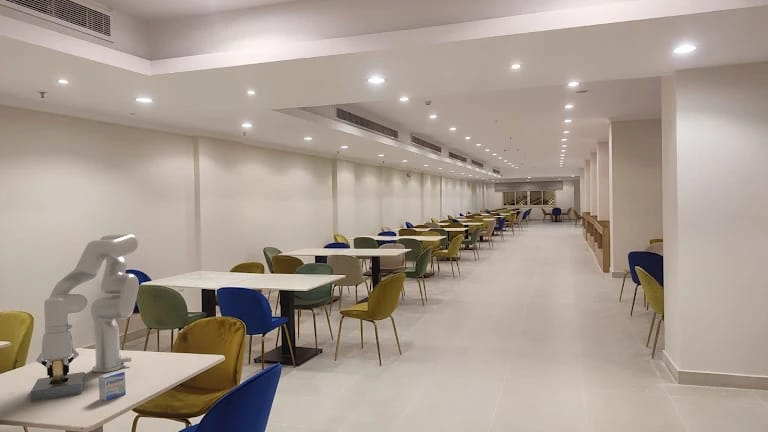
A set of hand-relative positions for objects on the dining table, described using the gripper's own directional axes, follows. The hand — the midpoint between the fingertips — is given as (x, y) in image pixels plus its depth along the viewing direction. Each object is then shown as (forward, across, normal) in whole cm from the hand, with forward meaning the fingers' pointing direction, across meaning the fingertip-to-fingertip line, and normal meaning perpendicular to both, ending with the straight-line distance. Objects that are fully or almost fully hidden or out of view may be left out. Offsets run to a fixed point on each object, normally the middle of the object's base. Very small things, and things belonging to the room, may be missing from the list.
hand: (58, 375), depth 200 cm
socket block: (+6, 0, 0) cm, 6 cm away
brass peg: (+4, 0, 0) cm, 4 cm away
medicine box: (+7, -19, +18) cm, 27 cm away
